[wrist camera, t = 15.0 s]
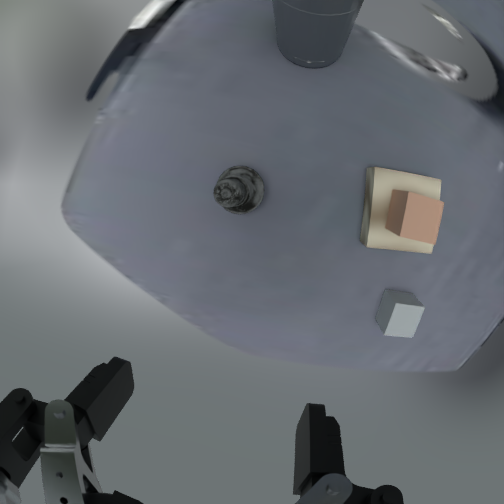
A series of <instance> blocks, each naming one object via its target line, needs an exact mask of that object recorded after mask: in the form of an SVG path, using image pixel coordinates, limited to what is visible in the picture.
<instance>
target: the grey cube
mask: <svg viewBox="0 0 504 504" xmlns="http://www.w3.org/2000/svg"><path fill="white" fill-rule="evenodd" d="M424 309H425V307H424V305H423V304H422V303H421V302H420V301H419V300H418V299H417V298H416V297H415V296H414V295H413V294H412V293H407V292H401V291H394V290H388V289H385V291H384V294H383V297H382V300H381V303H380V306H379V309H378V312H377V315H376V318H375V319H376V321H377V323H378V325H379V327H380V328H381V330H382V332H383V334H384V335H388V336H399V337H410V338H413V336H414V333H415V331H416V329H417V326H418V324H419V321H420V319H421V316H422V314H423V311H424Z"/></svg>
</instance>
